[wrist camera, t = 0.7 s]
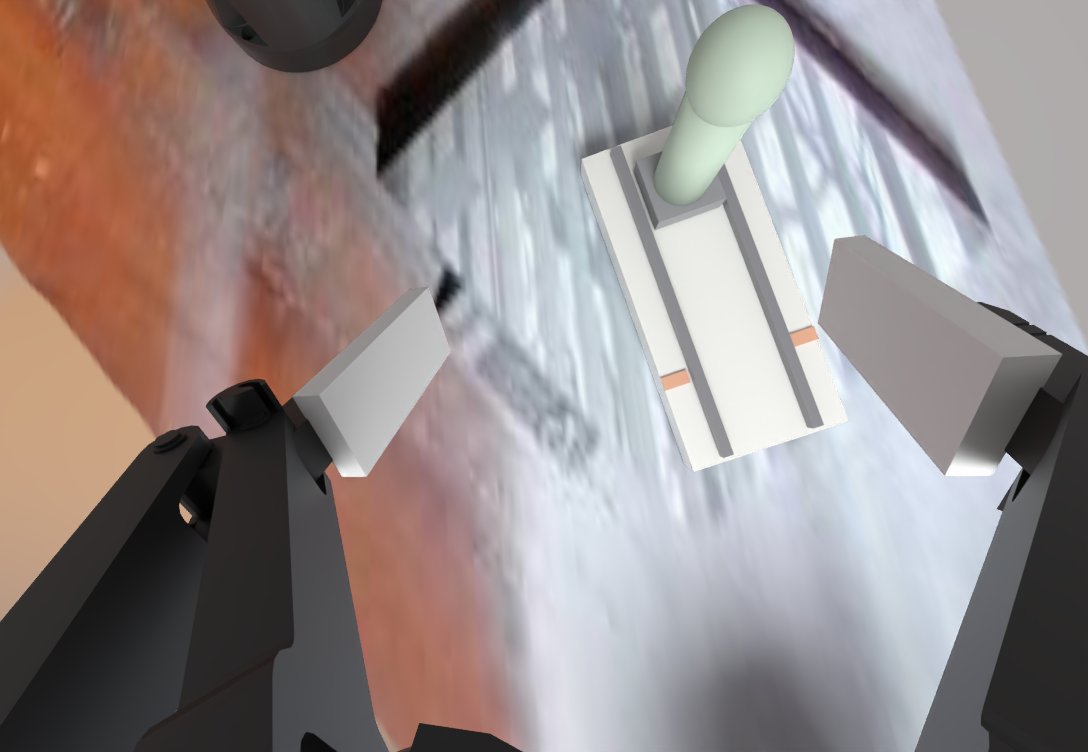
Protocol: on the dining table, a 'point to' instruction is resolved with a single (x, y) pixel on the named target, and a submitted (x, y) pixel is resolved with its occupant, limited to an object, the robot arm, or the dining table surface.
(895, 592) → the dining table surface
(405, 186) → the dining table surface
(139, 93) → the dining table surface
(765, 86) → the fader knob
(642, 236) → the fader console
